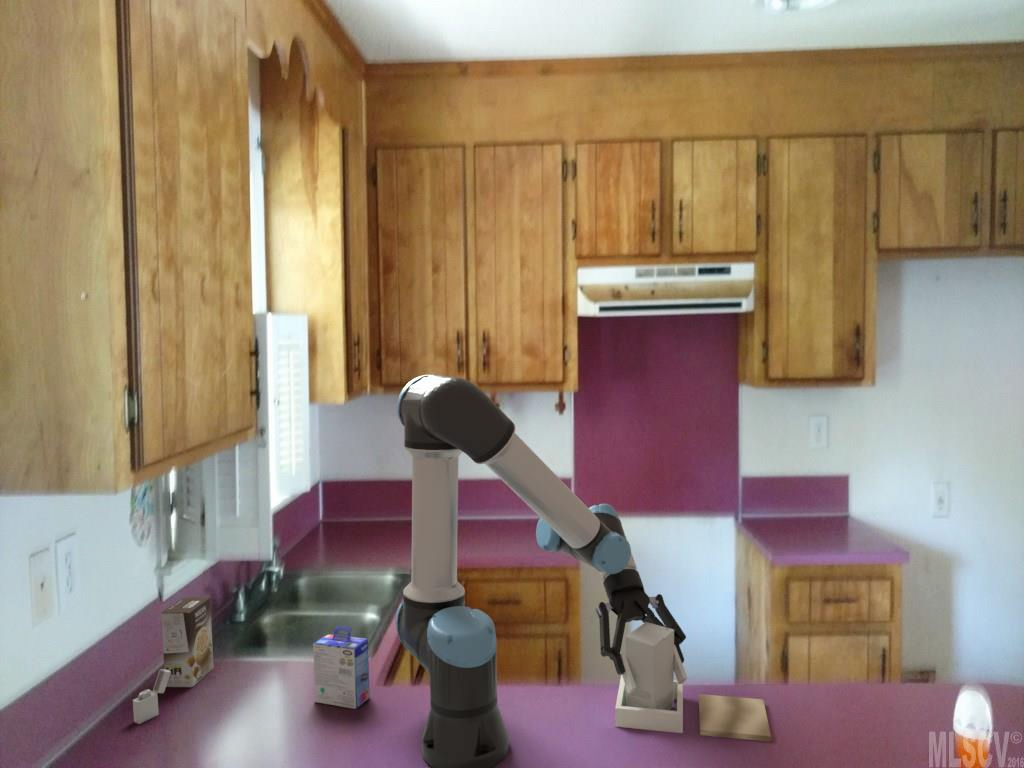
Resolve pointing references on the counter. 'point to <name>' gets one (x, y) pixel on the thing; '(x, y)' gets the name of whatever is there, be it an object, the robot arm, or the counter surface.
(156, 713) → the lighter
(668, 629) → the skincare box
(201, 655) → the coffee box
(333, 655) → the ink cartridge box
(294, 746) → the counter surface
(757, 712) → the oak pad
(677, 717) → the holder collar
